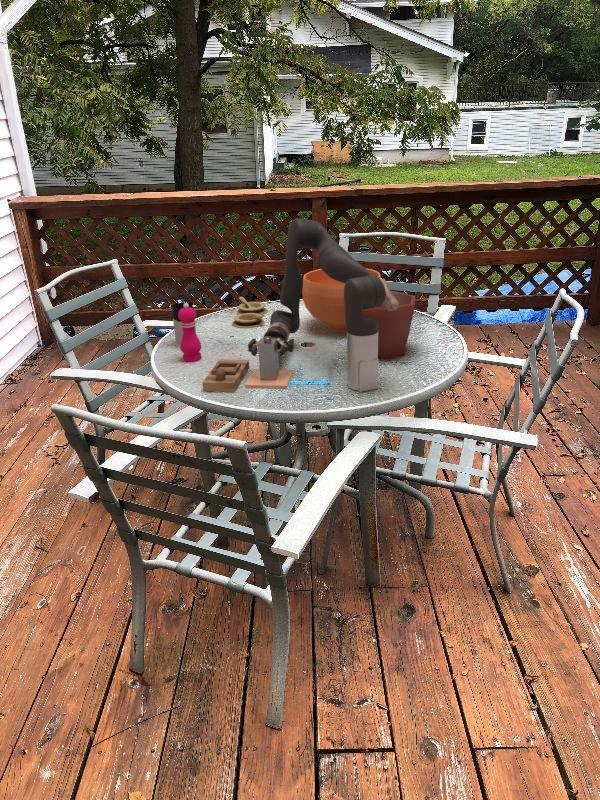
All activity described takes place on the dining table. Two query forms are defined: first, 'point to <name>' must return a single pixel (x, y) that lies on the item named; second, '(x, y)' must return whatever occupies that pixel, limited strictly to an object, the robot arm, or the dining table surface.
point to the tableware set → (249, 314)
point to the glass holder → (178, 321)
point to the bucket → (392, 322)
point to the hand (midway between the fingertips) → (267, 353)
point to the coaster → (279, 383)
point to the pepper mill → (189, 335)
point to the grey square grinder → (268, 358)
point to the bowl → (326, 299)
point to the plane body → (226, 375)
